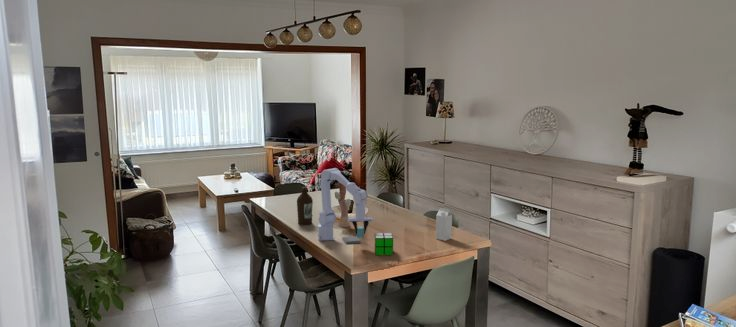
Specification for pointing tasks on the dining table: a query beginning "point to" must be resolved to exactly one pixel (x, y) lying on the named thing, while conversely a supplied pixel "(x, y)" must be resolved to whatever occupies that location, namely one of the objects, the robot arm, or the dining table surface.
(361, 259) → the dining table surface
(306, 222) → the olive oil
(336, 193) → the brown statue
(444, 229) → the milk carton
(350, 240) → the gray block
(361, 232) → the teal block
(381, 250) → the puzzle cube
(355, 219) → the robot arm
